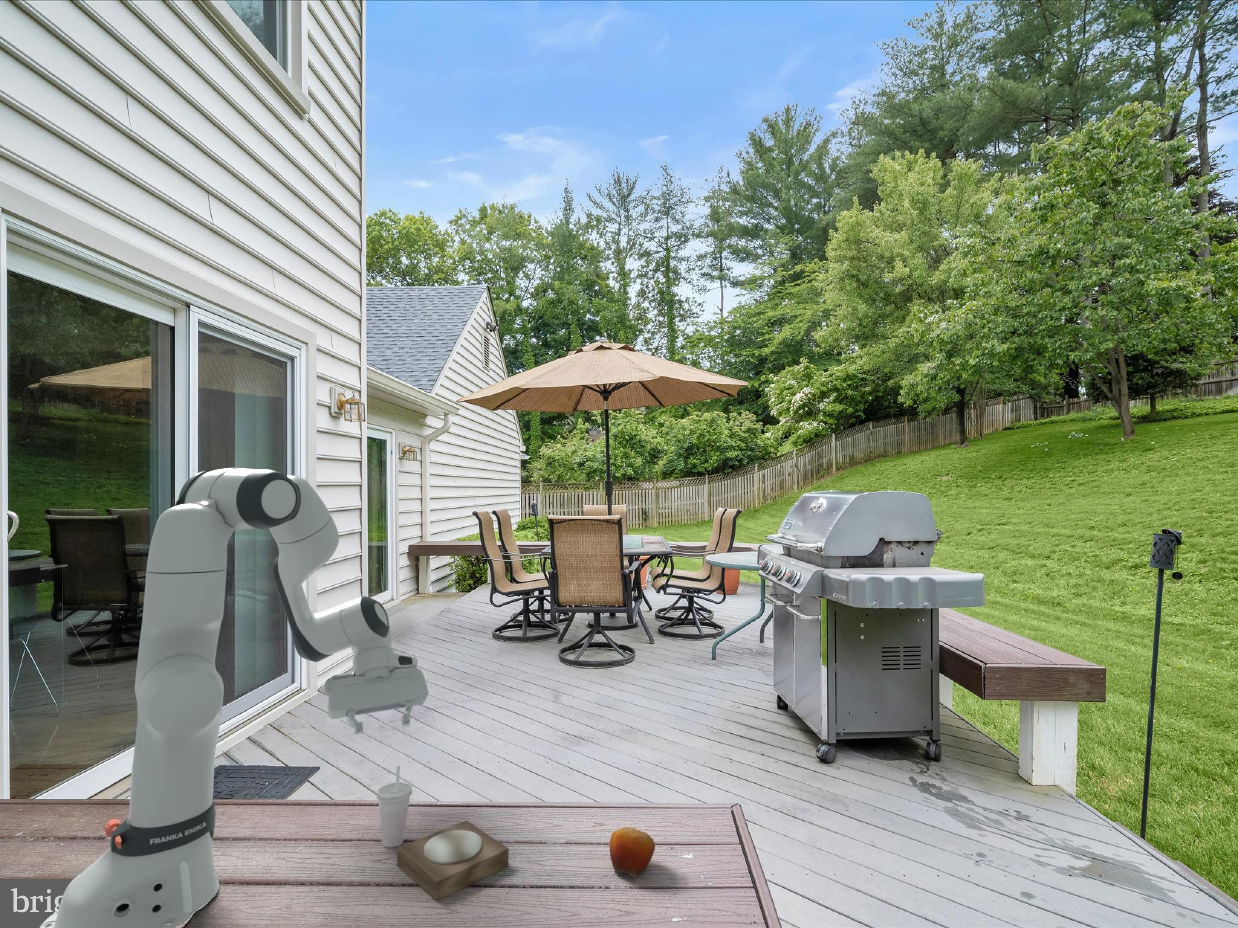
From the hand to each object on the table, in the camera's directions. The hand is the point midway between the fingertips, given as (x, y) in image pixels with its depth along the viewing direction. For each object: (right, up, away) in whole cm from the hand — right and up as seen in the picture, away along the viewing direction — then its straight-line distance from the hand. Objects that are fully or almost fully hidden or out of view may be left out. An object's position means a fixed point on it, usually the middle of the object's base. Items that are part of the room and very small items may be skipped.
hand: (382, 728), depth 128 cm
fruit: (+52, -17, -20) cm, 58 cm away
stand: (+20, -16, -19) cm, 32 cm away
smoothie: (+6, -17, -11) cm, 21 cm away
